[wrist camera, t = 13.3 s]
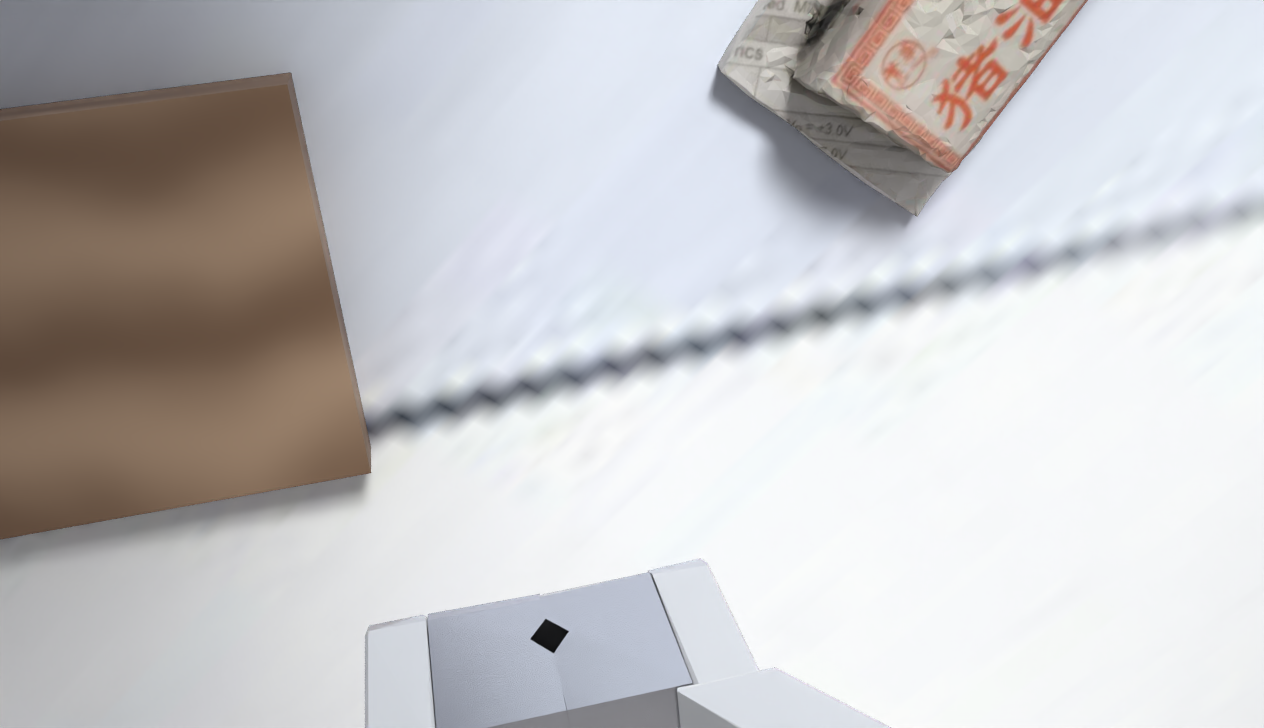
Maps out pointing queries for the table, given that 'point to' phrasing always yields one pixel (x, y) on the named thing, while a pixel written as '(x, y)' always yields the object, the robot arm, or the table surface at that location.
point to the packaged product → (893, 78)
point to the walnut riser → (166, 307)
